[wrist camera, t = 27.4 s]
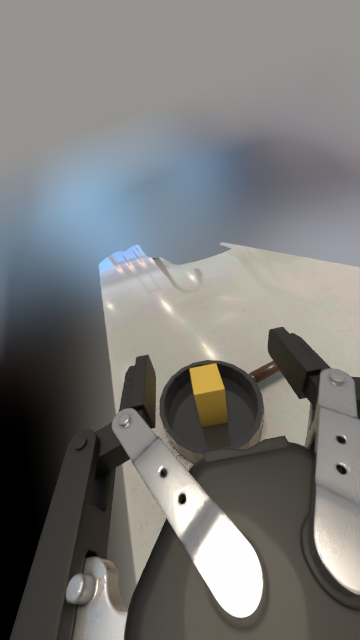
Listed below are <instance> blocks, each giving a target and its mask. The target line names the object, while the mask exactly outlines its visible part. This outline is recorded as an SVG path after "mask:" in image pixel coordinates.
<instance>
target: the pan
mask: <svg viewBox="0 0 360 640" xmlns="http://www.w3.org/2000/svg"><path fill="white" fill-rule="evenodd" d="M214 363H216V364H217V367H218V370H219V373H220V376H221V379H222V382H223V385H224V388H225V397H226V407H227V418H228V423H223V424H218V425H213V426H207V427H202V426H201V422H200V418H199V414H198V410H197V405H196V401H195V397H194V392H193V387H192V381H191V375H190V368H194V367H199V366H204V365H209V364H214ZM160 417H161V420H162V422H163V425H164V428H165V430H166V433H167V435H168V437H169V439H170V441H171V443H172V444H173V446H174V447H175V449H176V450H177V451H178V452H179V453H180V454H181V455H182V456H183V457H184V458H186V459H187V460H189V461H190V462H192V463H194V464H195V463H196V462H197V461H199V460H200V459H202V458H204V455H203V451H208V450H213V449H218V448H232V449H242V450H245V449H248V448H250V447H252V446H254V445H256V444H257V443H258V441H259V438H260V435H261V430H262V426H263V417H264V406H263V398H262V394H261V392H260V390H259V388H258V386H257V384H256V382H255V381H254V380H253V379H252V378H251V377H250V376H249V375H248V374H247V373H246V372H245V371H243V370H242V369H240V368H238V367H236V366H235V365H233V364H230V363H226V362H222V361H212V360H206V361H201V362H196V363H192V364H190V365H188V366H186V367H184V368H182V369H181V370H179V371H178V372H177V373H176V374H174V375H173V376H172V377H171V378H170V380H169V381H168V383H167V384H166V386H165V387H164V389H163V392H162V396H161V399H160Z"/></svg>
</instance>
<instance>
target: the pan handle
mask: <svg viewBox="0 0 360 640" xmlns="http://www.w3.org/2000/svg"><path fill="white" fill-rule="evenodd" d="M278 371H280V370H279V368H278V367H277V365H276V364H275V362H274V361H272V362H270V363H268V364H266V365H264V366H262V367H261V368H259V369H257V370H255V371H253V372H251V373H249V374H248V375H249V376H250V377H251V378H252V379H253V380H254V381H255V382H256V383H258V382H260V381H262V380H264V379H265V378H267V377H269V376H271V375H273V374H275V373H277V372H278Z"/></svg>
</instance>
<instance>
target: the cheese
mask: <svg viewBox="0 0 360 640" xmlns="http://www.w3.org/2000/svg"><path fill="white" fill-rule="evenodd" d="M190 375H191V381H192V387H193V392H194V397H195V401H196V405H197V410H198V414H199V418H200V422H201V426H202V427H207V426H213V425H218V424H223V423H228V418H227V407H226V397H225V388H224V385H223V382H222V379H221V376H220V373H219V370H218V367H217V364H216V363H214V364H209V365H204V366H199V367H194V368H190Z"/></svg>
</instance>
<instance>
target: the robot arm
mask: <svg viewBox="0 0 360 640" xmlns="http://www.w3.org/2000/svg"><path fill="white" fill-rule="evenodd" d="M268 352H269V354H270V356H271V358H272V359H273V361H274V362H275V364H276V365H277V367H278V368H279V370H280V371H281V372H282V374H283V375H284V377H285V378H286V380H287V381H288V383H289V384H290V386H291V387H292V389H293V390H294V392H295V393H296V395H297V396H298V398H299V399H302V398H308V400H309V401H310V403H311V404H310V412H309V421H308V431H307V438H306V442H305V447H304V446H302V445H299V444H296V443H291V442H288V441H287V439H286V437H285V436H281V437H276V438H271V439H265V440H263V441H261V442H259V443H257V444H256V445H254V446H252V447H250V448H248V449H245V450H242V449H232V448H218V449H213V450H208V451H203V455H204V458H202V459H200V460H199V461H197V462H196V463H195V464H194V465H193V466H192V467H191V468H190V470H189V471H187V469H186V468H185V467H184V466H183V465H182V463H181V462H180V461H179V460H178V459H177V457H176V456H175V455H174V454H173V453H172V451H171V450H170V449H169V448H168V447H167V445H166V444H165V443H164V442H163V441H162V439H161V438H160V437H157V436H156V434H155V433H154V432H153V431H152V430H151V428H155V411H156V376H155V371H154V368H153V365H152V363H151V360H150V357H149V355H144V356H139V357H137V358H136V363H135V366H130V367H129V369H128V371H127V372H126V375H125V382H124V388H123V392H122V398H121V404H120V409H119V413H118V414H117V415H116V416H115V417H114V419H113V421H112V422H111V423H110V424H109V425H107V426H105V427H104V428H102V429H100V430H98V431H96V432H94V431H92V430H89V429H87V430H83V431H81V432H79V433H78V434H76V435H75V436H74V437H73V438H72V440H71V441H70V443H69V445H68V447H67V451H66V454H65V457H64V461H63V464H62V467H61V471H60V474H59V477H58V481H57V484H56V487H55V491H54V494H53V497H52V501H51V504H50V507H49V511H48V514H47V518H46V521H45V524H44V527H43V530H42V534H41V537H40V541H39V544H38V547H37V551H36V554H35V557H34V561H33V564H32V567H31V570H30V574H29V577H28V580H27V584H26V587H25V590H24V594H23V597H22V600H21V604H20V607H19V611H18V614H17V617H16V620H15V624H14V627H13V630H12V634H11V637H10V640H360V377H351V376H350V375H348V374H347V373H345V372H343V371H341V370H338V369H332V368H330V367H329V366H328V365H327V364H326V363H325V362H324V361H323V359H322V358H321V357H320V356H319V355H318V354H317V353H316V352H315V351H314V350H313V349H311V347H310V346H309V345H307V343H306V342H305V341H304V340H303V339H302V338H301V337H299V336H297V335H296V334H294V333H291V334H289V333H288V332H287V331H286V330H285V328H283V327H279V328H275V329H270V330H269V338H268ZM129 459H131V460H132V463H133V465H134V467H135V468H136V470H137V471H138V473H139V475H140V476H141V478H142V479H143V481H144V483H145V484H146V486H147V487H148V489H149V491H150V492H151V494H152V495H153V497H154V499H155V500H156V502H157V503H158V505H159V507H160V508H161V510H162V512H163V513H164V515H165V516H166V521H165V523H164V525H163V527H162V530H161V532H160V534H159V536H158V539H157V541H156V543H155V545H154V548H153V550H152V552H151V555H150V557H149V559H148V561H147V564H146V566H145V568H144V570H143V573H142V575H141V577H140V579H139V582H138V584H137V586H136V588H135V591H134V593H133V596H132V599H131V602H130V605H129V609H127V608H126V607H125V606H124V604H123V603H122V600H121V597H120V594H119V578H118V573H117V569H116V567H115V565H114V564H113V563H112V562H111V561H108V560H106V558H107V549H108V539H109V528H110V519H111V509H112V499H113V490H114V480H115V469H116V467H117V466H119V465H121V464H123V463H124V462H126V461H128V460H129Z"/></svg>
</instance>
